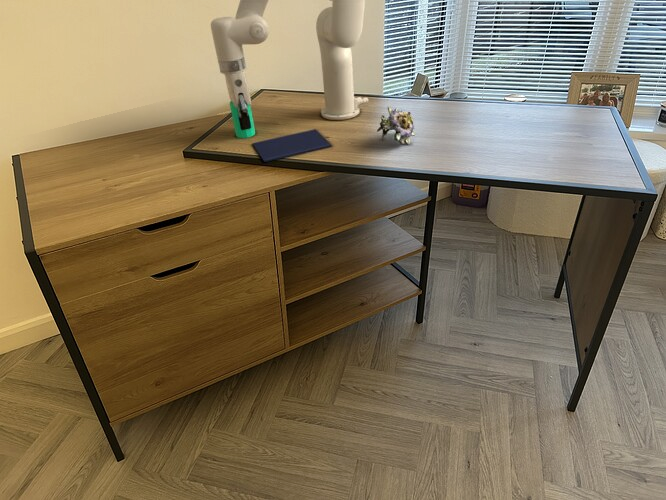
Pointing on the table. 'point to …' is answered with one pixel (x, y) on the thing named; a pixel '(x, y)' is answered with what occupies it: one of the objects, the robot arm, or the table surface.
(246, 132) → the candle
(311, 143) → the cloth
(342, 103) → the robot arm
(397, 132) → the passion flower
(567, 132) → the table surface
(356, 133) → the table surface
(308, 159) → the table surface
